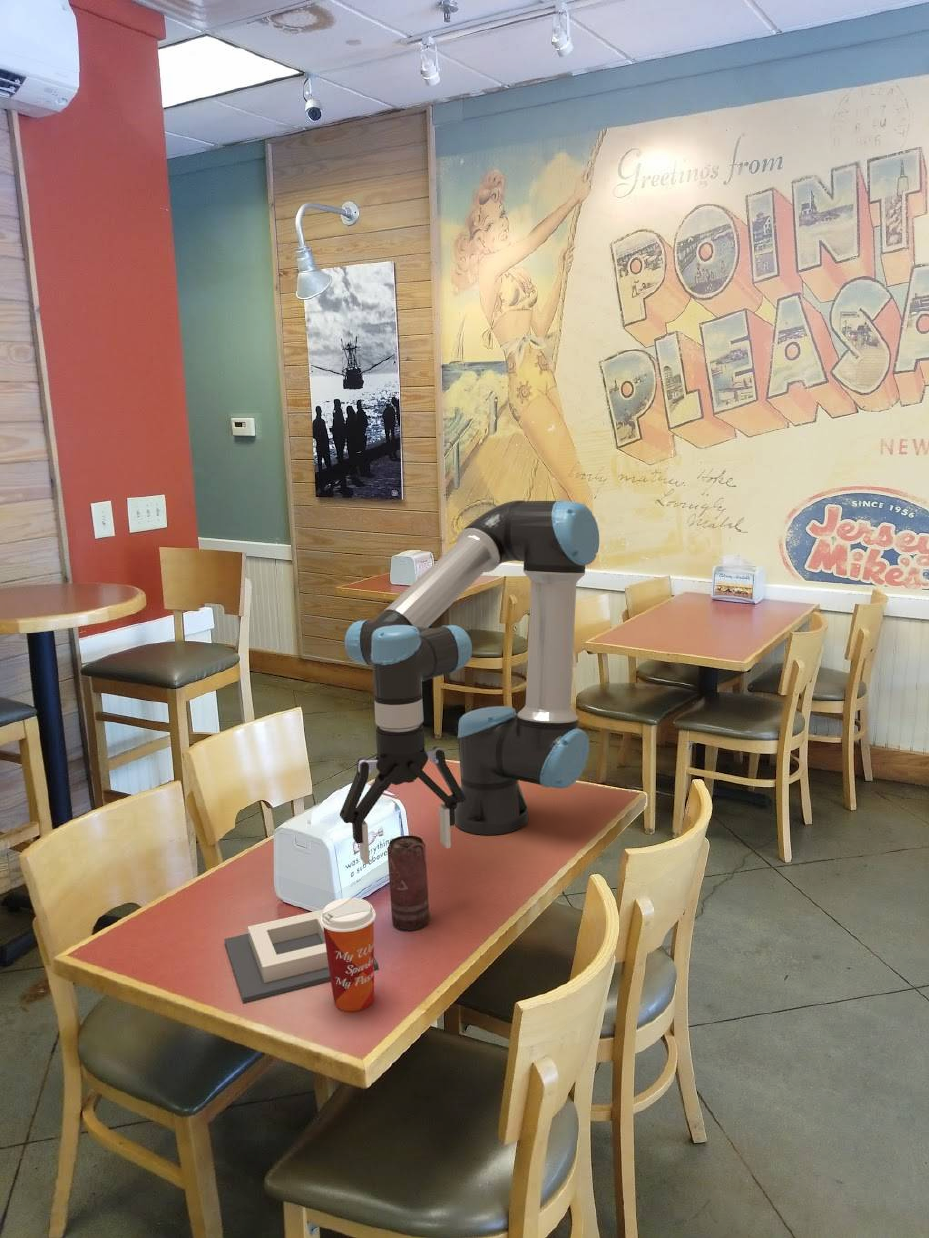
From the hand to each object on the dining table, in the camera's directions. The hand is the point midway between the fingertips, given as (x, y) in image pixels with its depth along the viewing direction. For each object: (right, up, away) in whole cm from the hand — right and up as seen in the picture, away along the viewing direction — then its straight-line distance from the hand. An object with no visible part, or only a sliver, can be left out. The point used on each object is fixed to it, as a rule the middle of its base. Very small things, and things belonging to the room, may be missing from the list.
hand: (405, 852), depth 155 cm
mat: (-16, -14, -6) cm, 22 cm away
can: (+1, -12, +3) cm, 12 cm away
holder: (-16, -14, -6) cm, 22 cm away
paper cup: (-6, -17, -18) cm, 25 cm away
